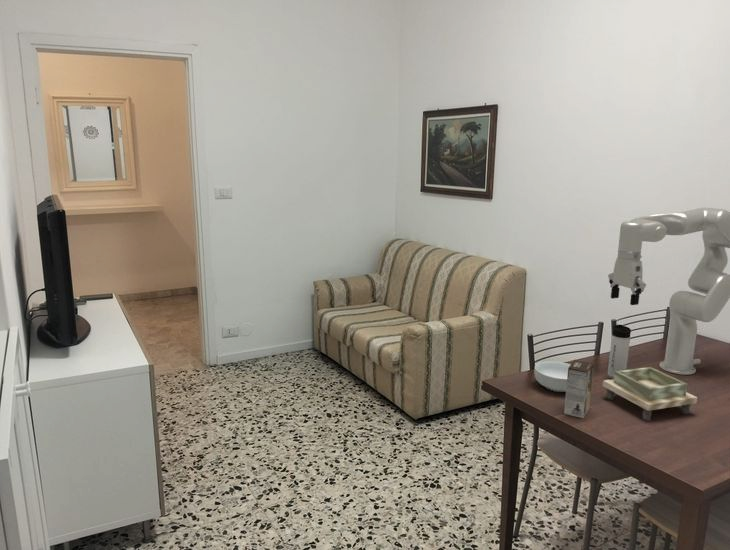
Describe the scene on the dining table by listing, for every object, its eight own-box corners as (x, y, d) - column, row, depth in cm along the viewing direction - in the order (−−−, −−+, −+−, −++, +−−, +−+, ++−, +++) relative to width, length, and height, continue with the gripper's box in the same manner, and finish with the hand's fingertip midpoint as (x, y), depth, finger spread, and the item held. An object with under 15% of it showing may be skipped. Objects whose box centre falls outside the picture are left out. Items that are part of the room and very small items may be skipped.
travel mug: (621, 374, 214) (627, 324, 210) (627, 381, 208) (633, 330, 204) (604, 373, 215) (610, 323, 211) (610, 380, 209) (616, 329, 204)
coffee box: (569, 403, 188) (574, 358, 185) (589, 408, 185) (594, 362, 181) (563, 414, 180) (567, 367, 177) (583, 419, 177) (589, 371, 174)
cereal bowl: (548, 399, 191) (550, 380, 190) (524, 380, 207) (525, 362, 206) (592, 395, 195) (594, 376, 194) (565, 377, 211) (566, 359, 209)
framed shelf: (646, 390, 200) (650, 364, 198) (694, 414, 181) (699, 385, 179) (601, 396, 194) (604, 369, 192) (646, 422, 175) (650, 393, 173)
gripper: (656, 259, 195) (650, 306, 198) (619, 251, 211) (615, 294, 214) (639, 260, 192) (633, 308, 196) (603, 252, 208) (599, 296, 212)
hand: (624, 301), depth 205 cm, fingers open, 9 cm apart
